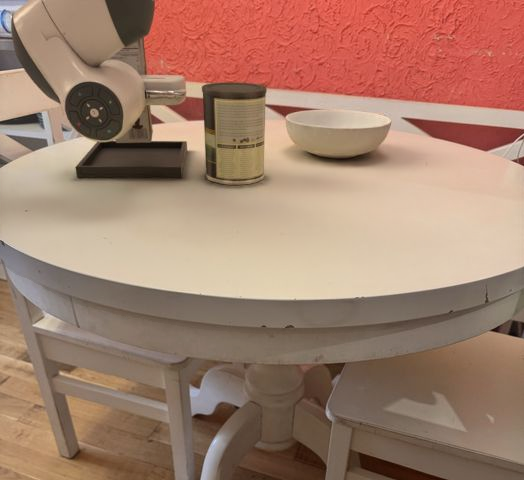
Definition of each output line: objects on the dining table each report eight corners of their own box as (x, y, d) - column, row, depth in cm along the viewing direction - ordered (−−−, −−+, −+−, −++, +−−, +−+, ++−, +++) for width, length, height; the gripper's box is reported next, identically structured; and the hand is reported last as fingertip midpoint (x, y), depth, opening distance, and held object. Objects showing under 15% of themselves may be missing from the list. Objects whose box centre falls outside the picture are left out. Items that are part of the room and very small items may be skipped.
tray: (77, 177, 85) (75, 166, 84) (99, 150, 101) (98, 140, 100) (181, 178, 86) (181, 167, 85) (187, 150, 102) (186, 141, 101)
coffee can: (193, 177, 86) (188, 86, 78) (230, 165, 93) (229, 80, 85) (240, 189, 81) (240, 93, 73) (275, 175, 88) (279, 86, 80)
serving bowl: (356, 139, 114) (360, 106, 110) (405, 163, 97) (412, 125, 94) (270, 144, 108) (271, 109, 104) (307, 170, 92) (310, 130, 88)
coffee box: (118, 132, 94) (105, 31, 85) (153, 132, 95) (143, 32, 86) (115, 143, 86) (99, 34, 77) (152, 143, 87) (141, 34, 78)
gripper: (183, 71, 74) (188, 62, 85) (42, 69, 73) (66, 60, 84) (186, 117, 78) (190, 103, 89) (51, 116, 76) (73, 102, 87)
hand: (129, 82), depth 86 cm, fingers closed on coffee box, 6 cm apart
